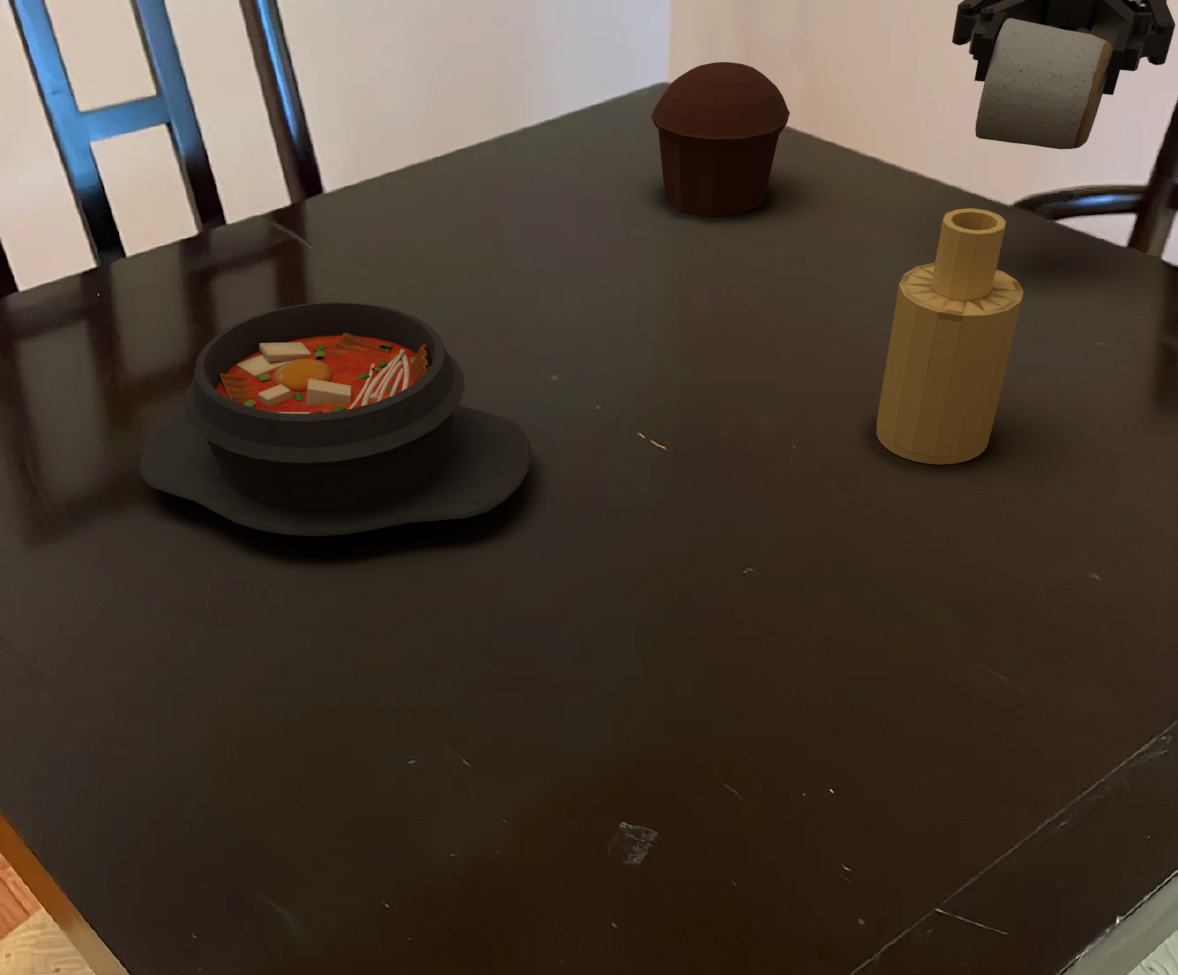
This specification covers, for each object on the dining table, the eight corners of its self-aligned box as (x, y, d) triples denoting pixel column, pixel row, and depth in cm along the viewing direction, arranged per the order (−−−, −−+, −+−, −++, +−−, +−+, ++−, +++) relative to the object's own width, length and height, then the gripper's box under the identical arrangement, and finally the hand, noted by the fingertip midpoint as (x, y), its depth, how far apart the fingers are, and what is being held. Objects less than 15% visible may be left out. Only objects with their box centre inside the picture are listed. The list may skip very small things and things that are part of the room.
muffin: (691, 233, 112) (697, 102, 105) (625, 187, 119) (627, 62, 111) (808, 204, 116) (822, 76, 108) (737, 162, 122) (746, 39, 115)
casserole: (558, 423, 91) (555, 301, 85) (496, 583, 79) (487, 454, 72) (210, 392, 94) (182, 273, 88) (97, 541, 82) (56, 415, 76)
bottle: (995, 418, 91) (1045, 205, 81) (979, 473, 86) (1029, 254, 76) (888, 400, 93) (923, 189, 83) (865, 453, 88) (900, 236, 78)
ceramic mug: (1082, 167, 96) (1112, 46, 91) (968, 152, 98) (991, 34, 93) (1099, 120, 103) (1128, 5, 98) (992, 107, 105) (1014, -6, 100)
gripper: (1203, 44, 108) (1187, 141, 94) (943, 19, 113) (890, 108, 99) (1235, -66, 103) (1223, 19, 88) (960, -87, 108) (906, -9, 93)
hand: (1047, 66), depth 93 cm, fingers closed on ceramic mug, 8 cm apart
